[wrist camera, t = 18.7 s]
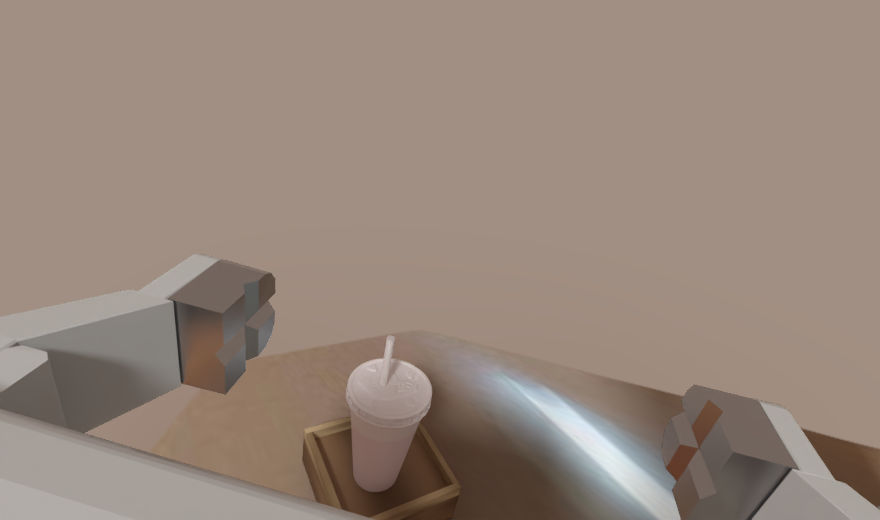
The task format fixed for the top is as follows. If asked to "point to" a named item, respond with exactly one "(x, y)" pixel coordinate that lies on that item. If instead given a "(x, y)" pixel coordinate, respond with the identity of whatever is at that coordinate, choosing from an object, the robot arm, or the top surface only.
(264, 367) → the top surface
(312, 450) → the wooden tray
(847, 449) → the top surface
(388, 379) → the smoothie
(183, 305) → the robot arm
